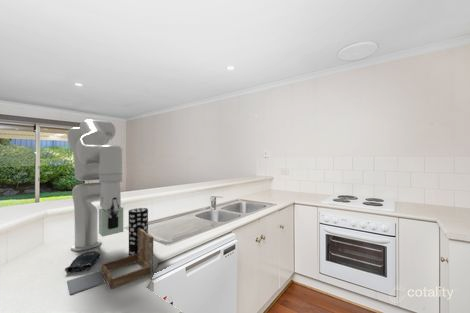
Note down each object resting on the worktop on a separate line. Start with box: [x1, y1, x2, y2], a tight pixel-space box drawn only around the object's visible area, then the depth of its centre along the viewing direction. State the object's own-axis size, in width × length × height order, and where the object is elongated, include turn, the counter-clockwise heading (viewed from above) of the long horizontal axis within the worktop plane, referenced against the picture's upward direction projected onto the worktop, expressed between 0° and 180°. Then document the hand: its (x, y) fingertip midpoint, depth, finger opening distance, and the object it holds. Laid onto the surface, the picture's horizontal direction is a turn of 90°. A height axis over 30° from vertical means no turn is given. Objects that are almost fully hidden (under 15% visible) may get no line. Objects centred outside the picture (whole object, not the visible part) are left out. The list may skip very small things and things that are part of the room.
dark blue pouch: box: [64, 250, 102, 275], centre depth 91 cm, size 9×6×15 cm
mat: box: [66, 270, 106, 296], centre depth 77 cm, size 10×10×1 cm
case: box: [101, 228, 155, 290], centre depth 83 cm, size 16×15×14 cm
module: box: [98, 206, 124, 237], centre depth 81 cm, size 5×7×10 cm
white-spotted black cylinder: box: [128, 207, 149, 256], centre depth 101 cm, size 8×8×20 cm
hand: (111, 225), depth 81 cm, fingers closed on module, 5 cm apart
